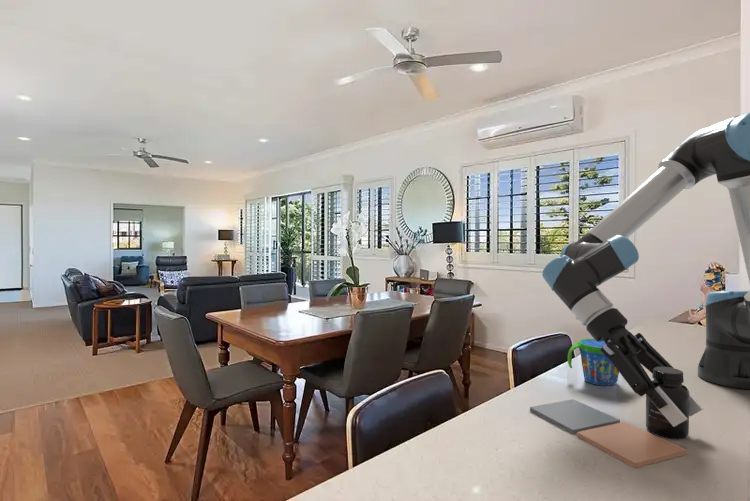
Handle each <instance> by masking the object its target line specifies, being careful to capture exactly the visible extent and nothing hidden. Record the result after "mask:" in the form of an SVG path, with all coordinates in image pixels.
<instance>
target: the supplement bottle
mask: <svg viewBox="0 0 750 501" xmlns="http://www.w3.org/2000/svg"><path fill="white" fill-rule="evenodd" d="M684 380H685V379H684V372H683V370H680V369H678V368H674V367H673V368H670V367H654V368H653V374H652V379H651V381H652V382H653V384H654V385H655V388H656V387H658V386H659V387H660V388H661V389H662V390H663V392H664V393H665V394H666V395H667V396H668V397H669V398H670V399H671V401H672V402H673V403H674V404H675V405H676V406H677V407H678V408H679V410H680V411H681V412H682V413H683V414H684V415H685V416H686V417H687V420H685V421H684V422H682V423H680V424H678V425H676V426H675V427H673V426H672V424H671V423H670V422H669V421H668V420H667V419H666V417H665V416H664V415H663V414H662V413H661V412H660V410H659V409H658V408H657V407H656V406H655V405H654V403H653V402H652V401H651V400H650V399H649V398H648V396H647V395H646V394H645V402H646V403H645V427H646V429H647V430H648V431H649V433H651V434H653V435H655V436H657V437H660V438H663V439H664V438H665V439H671V440H684V439H686V438H687V437H688V436H689V431H690V430H689V429H690V416H689V399H690V394H691V393H690V391H689V389H688V388H687V387H686V386H685V385H684V384H683V383H684V382H685V381H684ZM655 388H654V389H655ZM689 393H690V394H689Z"/></svg>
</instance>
